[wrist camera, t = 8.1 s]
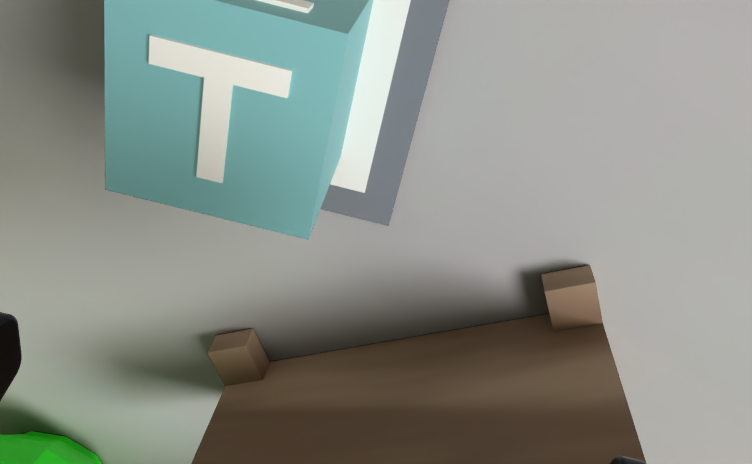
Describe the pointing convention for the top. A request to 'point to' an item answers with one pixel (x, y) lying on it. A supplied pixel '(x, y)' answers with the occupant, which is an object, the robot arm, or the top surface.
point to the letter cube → (231, 104)
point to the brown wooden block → (433, 395)
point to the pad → (385, 107)
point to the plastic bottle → (43, 450)
